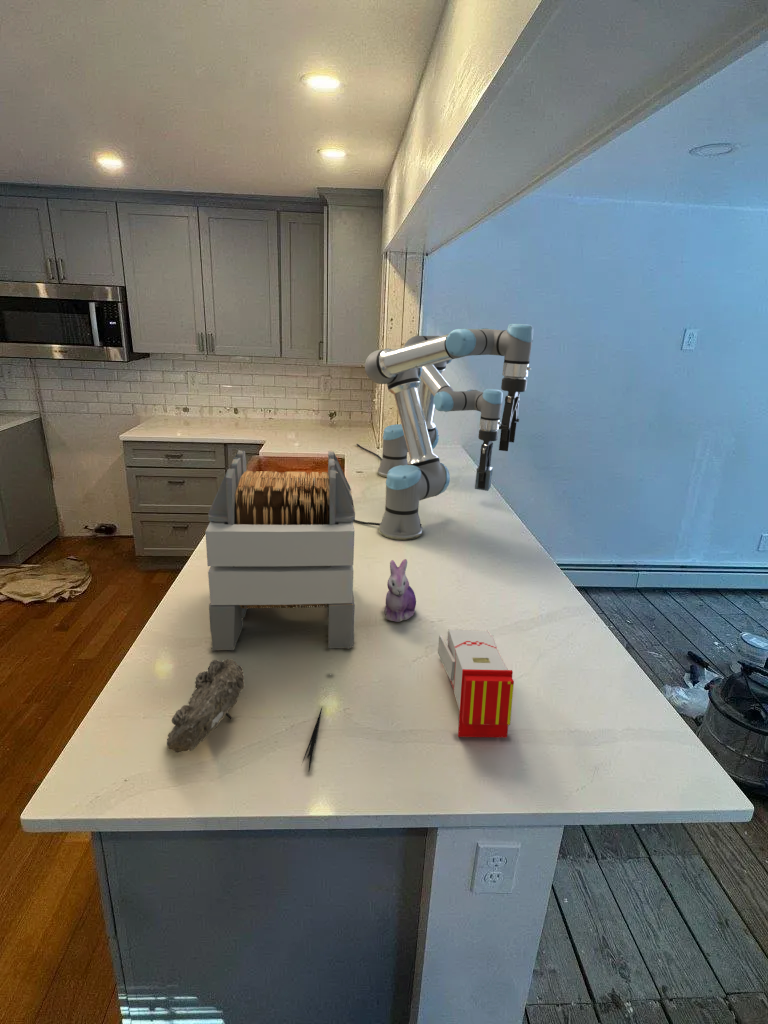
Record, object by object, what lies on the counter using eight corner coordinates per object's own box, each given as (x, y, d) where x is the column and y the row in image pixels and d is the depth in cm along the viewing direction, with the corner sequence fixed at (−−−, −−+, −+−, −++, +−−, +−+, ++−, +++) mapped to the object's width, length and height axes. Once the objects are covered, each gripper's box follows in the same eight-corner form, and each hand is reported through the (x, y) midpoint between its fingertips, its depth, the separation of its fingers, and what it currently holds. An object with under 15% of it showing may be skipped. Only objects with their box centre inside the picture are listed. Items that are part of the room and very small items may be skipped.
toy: (488, 613, 130) (523, 677, 101) (484, 667, 133) (517, 744, 104) (435, 612, 130) (455, 676, 101) (432, 666, 133) (451, 743, 103)
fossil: (192, 660, 117) (244, 628, 112) (224, 691, 120) (276, 661, 115) (142, 746, 98) (202, 712, 93) (182, 779, 101) (242, 748, 96)
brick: (488, 491, 227) (490, 470, 224) (474, 488, 229) (476, 468, 226) (490, 487, 231) (492, 467, 228) (477, 485, 233) (479, 465, 230)
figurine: (392, 627, 141) (395, 572, 136) (374, 608, 149) (376, 556, 144) (425, 619, 145) (429, 566, 140) (405, 601, 154) (408, 550, 149)
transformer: (231, 583, 159) (223, 441, 145) (347, 582, 163) (350, 443, 149) (209, 653, 127) (196, 479, 114) (354, 649, 131) (359, 481, 117)
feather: (331, 679, 122) (336, 673, 122) (307, 777, 96) (313, 769, 95) (324, 675, 122) (329, 669, 121) (298, 772, 95) (304, 764, 95)
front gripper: (522, 382, 160) (513, 456, 167) (532, 374, 182) (523, 439, 189) (495, 380, 162) (487, 453, 169) (508, 373, 184) (501, 437, 191)
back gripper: (494, 435, 213) (487, 493, 221) (502, 426, 229) (495, 481, 237) (474, 432, 215) (468, 491, 223) (483, 424, 231) (477, 479, 239)
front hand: (506, 446), depth 179 cm, fingers open, 13 cm apart
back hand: (482, 486), depth 230 cm, fingers closed on brick, 5 cm apart
